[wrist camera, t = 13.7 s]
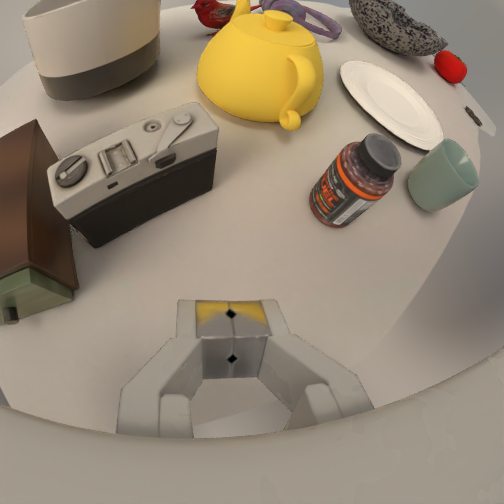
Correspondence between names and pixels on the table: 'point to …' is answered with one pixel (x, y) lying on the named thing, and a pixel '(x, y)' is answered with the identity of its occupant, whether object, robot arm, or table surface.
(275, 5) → the headphones
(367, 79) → the plate
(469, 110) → the corroded twin loop
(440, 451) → the robot arm
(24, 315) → the drawer
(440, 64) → the tomato
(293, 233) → the table surface
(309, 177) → the table surface
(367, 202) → the supplement bottle
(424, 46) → the bowl
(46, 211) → the cabinet
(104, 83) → the planter
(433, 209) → the cup
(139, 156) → the camera
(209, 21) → the decorative bird figurine
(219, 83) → the teapot
